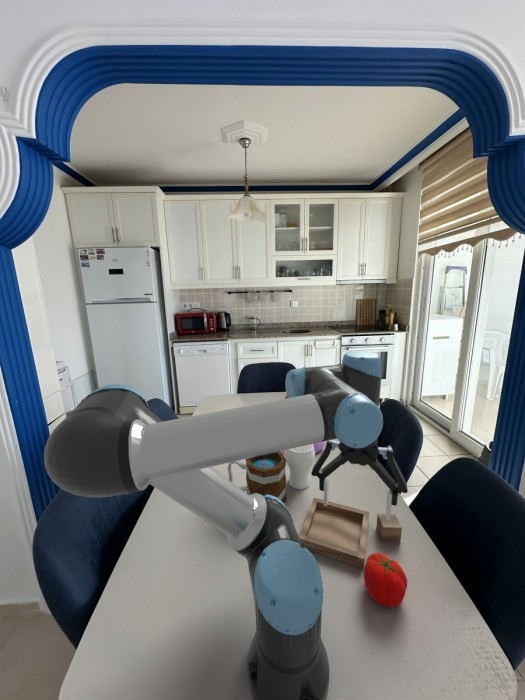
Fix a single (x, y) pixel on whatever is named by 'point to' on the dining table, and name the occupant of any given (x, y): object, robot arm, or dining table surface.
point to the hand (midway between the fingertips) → (356, 508)
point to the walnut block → (389, 528)
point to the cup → (300, 465)
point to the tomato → (384, 580)
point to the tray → (336, 532)
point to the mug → (264, 475)
